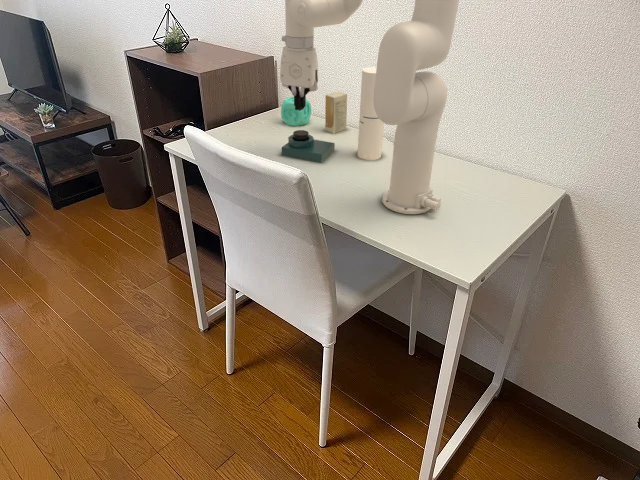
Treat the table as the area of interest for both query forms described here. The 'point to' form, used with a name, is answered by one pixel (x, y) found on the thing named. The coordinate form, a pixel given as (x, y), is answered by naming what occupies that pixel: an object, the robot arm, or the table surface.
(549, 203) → the table surface
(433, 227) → the table surface
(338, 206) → the table surface
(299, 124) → the decorative dice
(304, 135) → the button
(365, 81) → the cylindrical container
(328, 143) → the base
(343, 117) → the cosmetic box
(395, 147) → the robot arm
